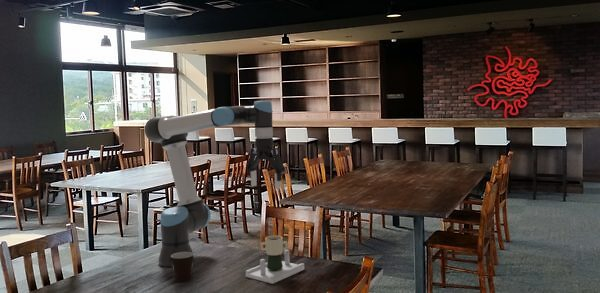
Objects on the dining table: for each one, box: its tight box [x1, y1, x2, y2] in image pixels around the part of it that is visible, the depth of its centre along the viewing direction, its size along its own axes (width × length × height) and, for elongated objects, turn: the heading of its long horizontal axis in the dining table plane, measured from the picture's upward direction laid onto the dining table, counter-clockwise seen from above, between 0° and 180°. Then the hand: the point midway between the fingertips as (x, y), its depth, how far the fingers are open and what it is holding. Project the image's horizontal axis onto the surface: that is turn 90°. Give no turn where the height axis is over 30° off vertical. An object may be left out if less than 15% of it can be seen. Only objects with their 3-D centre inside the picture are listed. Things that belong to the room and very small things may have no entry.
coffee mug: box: [171, 252, 194, 284], centre depth 210 cm, size 12×9×10 cm
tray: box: [245, 249, 305, 284], centre depth 214 cm, size 14×20×8 cm
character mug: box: [260, 235, 289, 270], centre depth 213 cm, size 11×7×13 cm, turn 94°
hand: (265, 187), depth 225 cm, fingers open, 13 cm apart
